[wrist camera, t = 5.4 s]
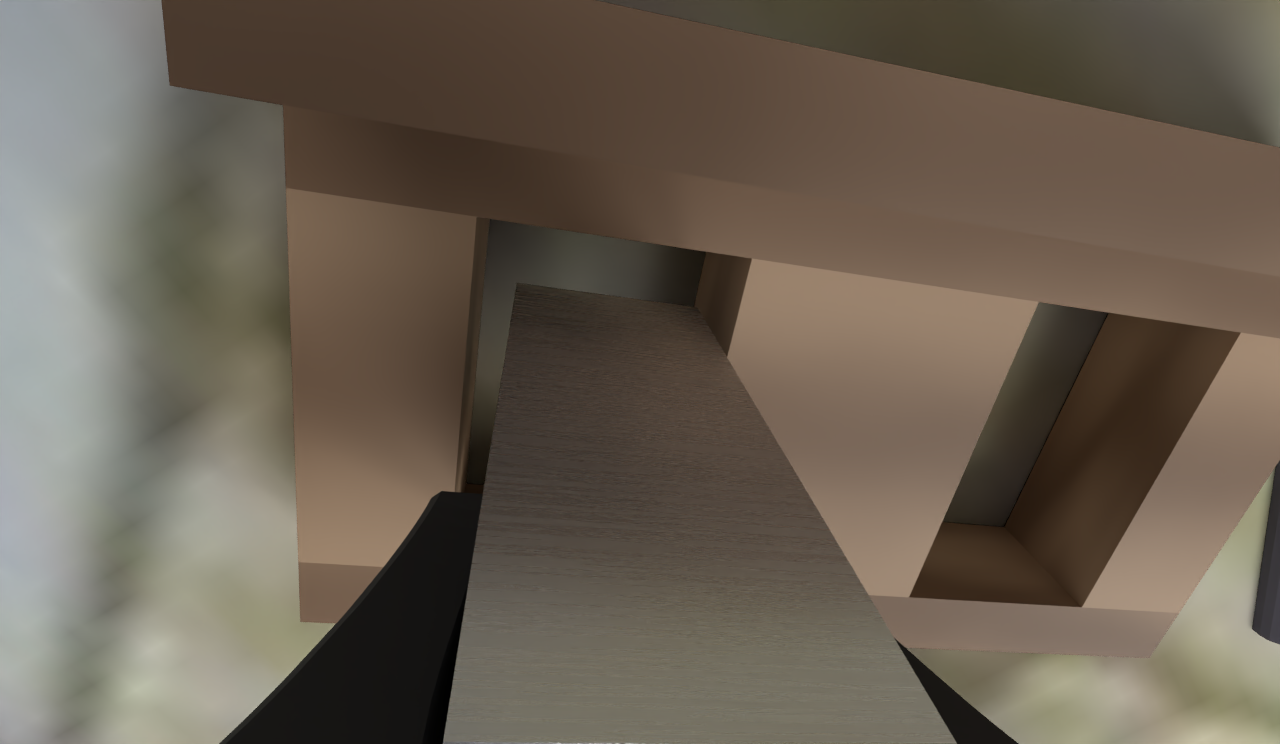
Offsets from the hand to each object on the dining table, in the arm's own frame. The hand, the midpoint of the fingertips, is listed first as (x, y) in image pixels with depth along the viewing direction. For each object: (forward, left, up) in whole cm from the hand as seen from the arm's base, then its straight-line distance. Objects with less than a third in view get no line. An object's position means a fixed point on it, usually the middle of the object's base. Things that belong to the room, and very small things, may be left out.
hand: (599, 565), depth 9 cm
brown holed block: (0, -5, -7) cm, 8 cm away
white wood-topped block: (0, 0, -3) cm, 4 cm away
